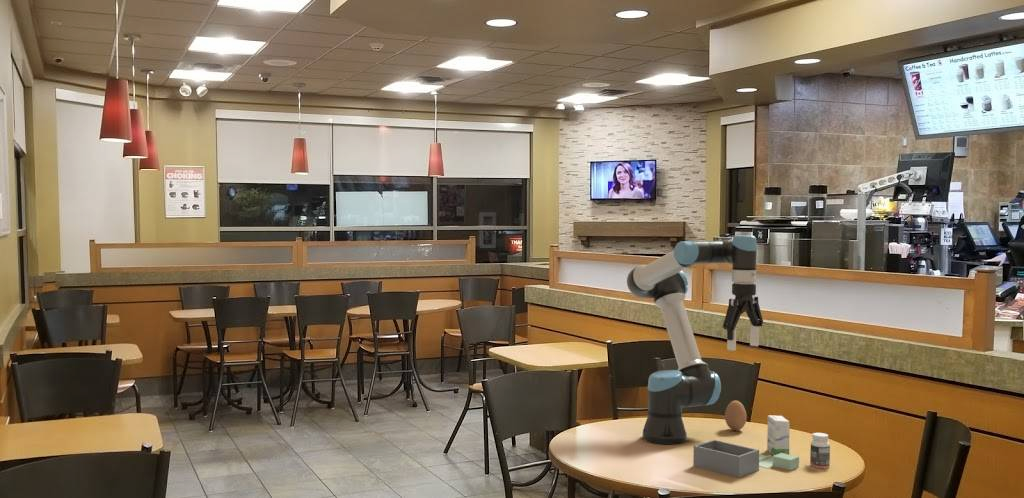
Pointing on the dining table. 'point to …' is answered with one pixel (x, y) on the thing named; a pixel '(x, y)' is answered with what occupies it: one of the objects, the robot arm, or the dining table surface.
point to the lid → (779, 461)
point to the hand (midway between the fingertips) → (743, 348)
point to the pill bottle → (820, 451)
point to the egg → (735, 415)
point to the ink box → (778, 435)
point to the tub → (726, 458)
